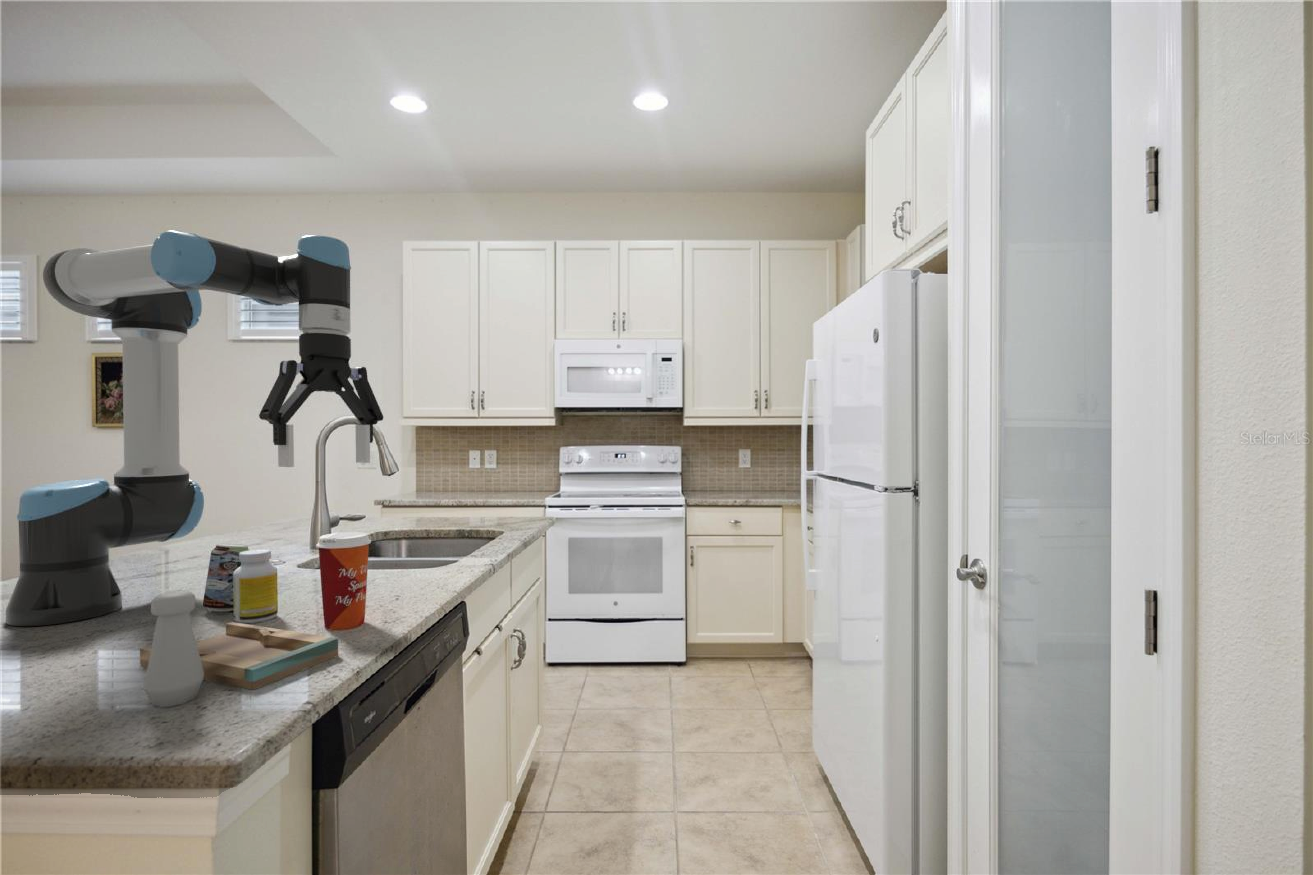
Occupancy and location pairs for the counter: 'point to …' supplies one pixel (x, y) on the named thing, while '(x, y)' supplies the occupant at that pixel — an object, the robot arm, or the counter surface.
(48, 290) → the robot arm
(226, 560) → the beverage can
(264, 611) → the pill bottle
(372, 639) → the counter surface
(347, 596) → the coffee cup
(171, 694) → the salt shaker
